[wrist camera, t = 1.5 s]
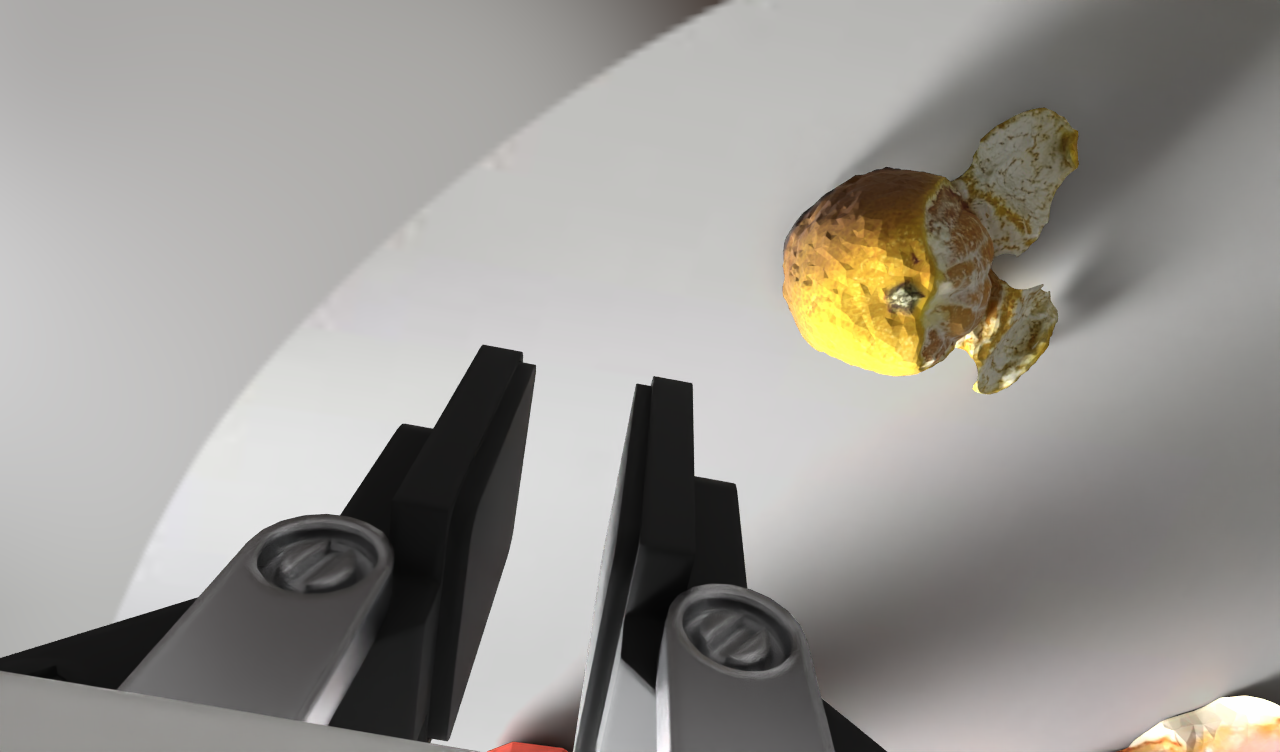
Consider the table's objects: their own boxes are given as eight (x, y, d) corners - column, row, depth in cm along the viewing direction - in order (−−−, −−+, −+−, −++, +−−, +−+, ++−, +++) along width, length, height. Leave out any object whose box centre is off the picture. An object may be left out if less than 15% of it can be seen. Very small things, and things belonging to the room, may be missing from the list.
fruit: (1048, 376, 27) (1099, 430, 24) (781, 392, 28) (795, 447, 24) (1078, 102, 24) (1143, 119, 20) (775, 128, 24) (789, 149, 21)
